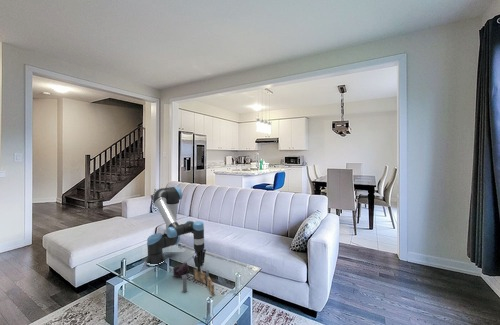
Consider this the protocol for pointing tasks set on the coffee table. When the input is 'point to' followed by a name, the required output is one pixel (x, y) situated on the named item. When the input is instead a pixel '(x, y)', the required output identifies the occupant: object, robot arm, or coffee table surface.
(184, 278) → the posts
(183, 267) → the rock
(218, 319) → the coffee table surface
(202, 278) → the gate
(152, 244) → the robot arm
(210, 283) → the fence
